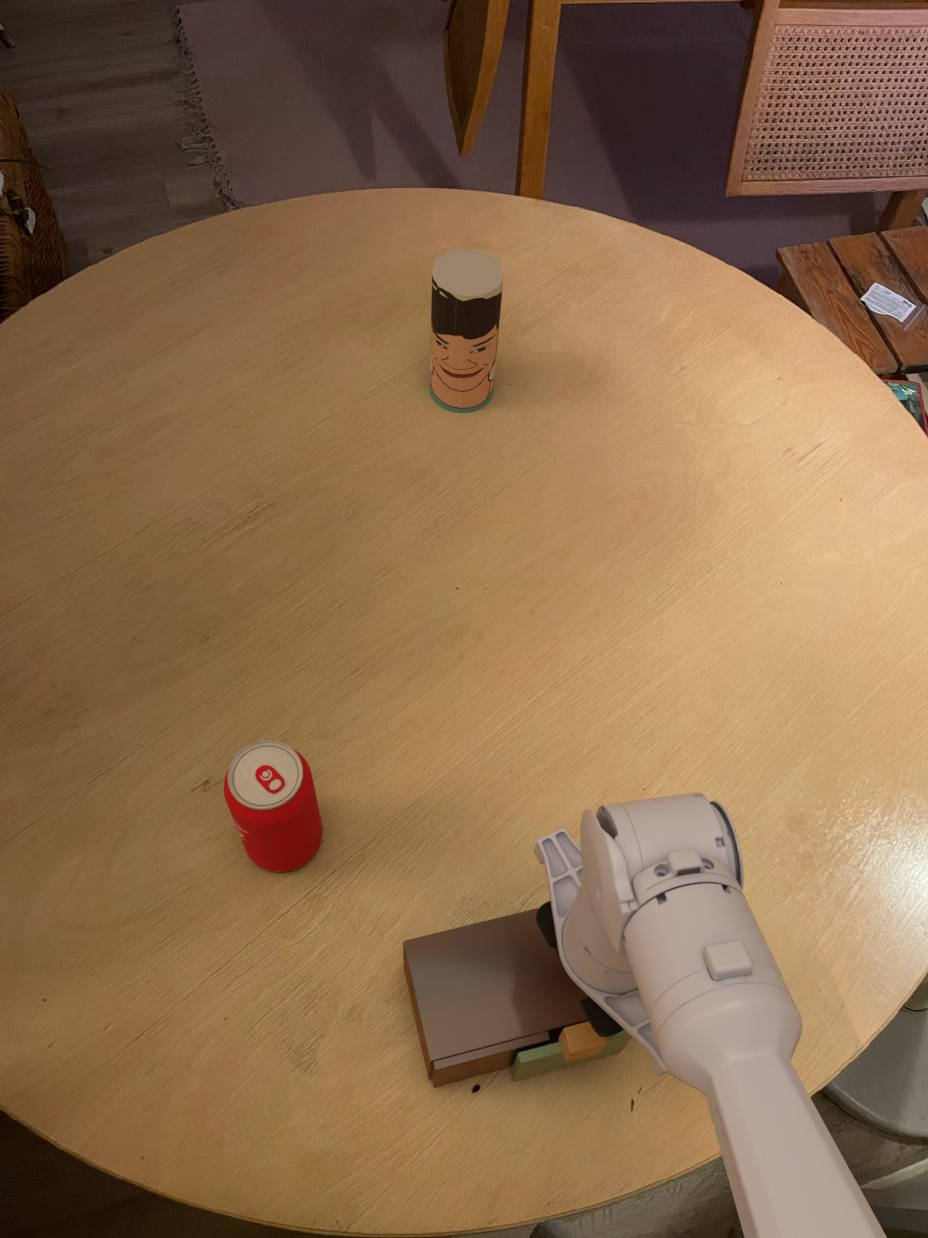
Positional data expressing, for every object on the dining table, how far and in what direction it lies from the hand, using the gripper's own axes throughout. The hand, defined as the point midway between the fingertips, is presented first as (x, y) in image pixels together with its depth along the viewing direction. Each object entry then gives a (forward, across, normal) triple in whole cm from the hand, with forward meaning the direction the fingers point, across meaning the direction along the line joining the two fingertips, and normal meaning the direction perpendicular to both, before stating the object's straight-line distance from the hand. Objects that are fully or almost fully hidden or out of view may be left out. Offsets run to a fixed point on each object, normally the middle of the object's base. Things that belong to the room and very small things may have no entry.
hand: (588, 981), depth 67 cm
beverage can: (+10, +22, +14) cm, 28 cm away
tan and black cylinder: (+10, +60, -21) cm, 65 cm away
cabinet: (+10, +3, +2) cm, 10 cm away
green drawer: (+9, -3, +2) cm, 10 cm away
